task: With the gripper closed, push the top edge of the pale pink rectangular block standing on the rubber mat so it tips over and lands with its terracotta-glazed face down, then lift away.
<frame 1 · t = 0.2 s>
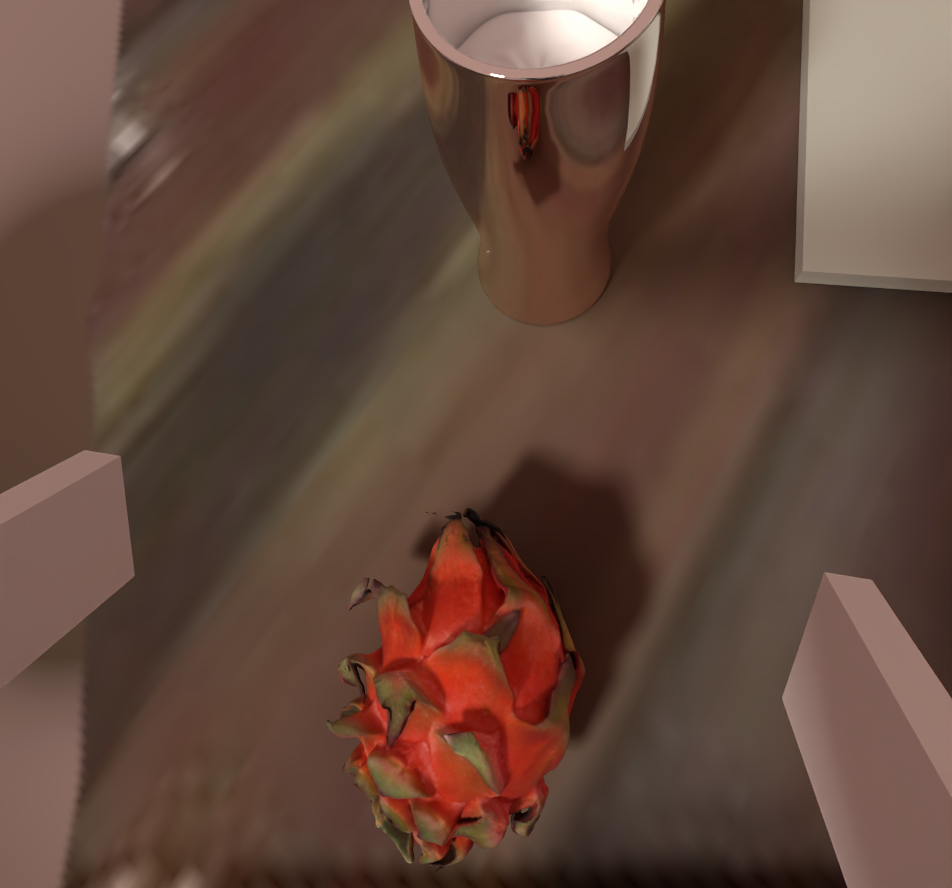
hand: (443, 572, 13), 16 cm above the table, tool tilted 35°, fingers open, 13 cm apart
beer glass: (544, 267, 31), on the table
dragon fruit: (470, 667, 28), on the table
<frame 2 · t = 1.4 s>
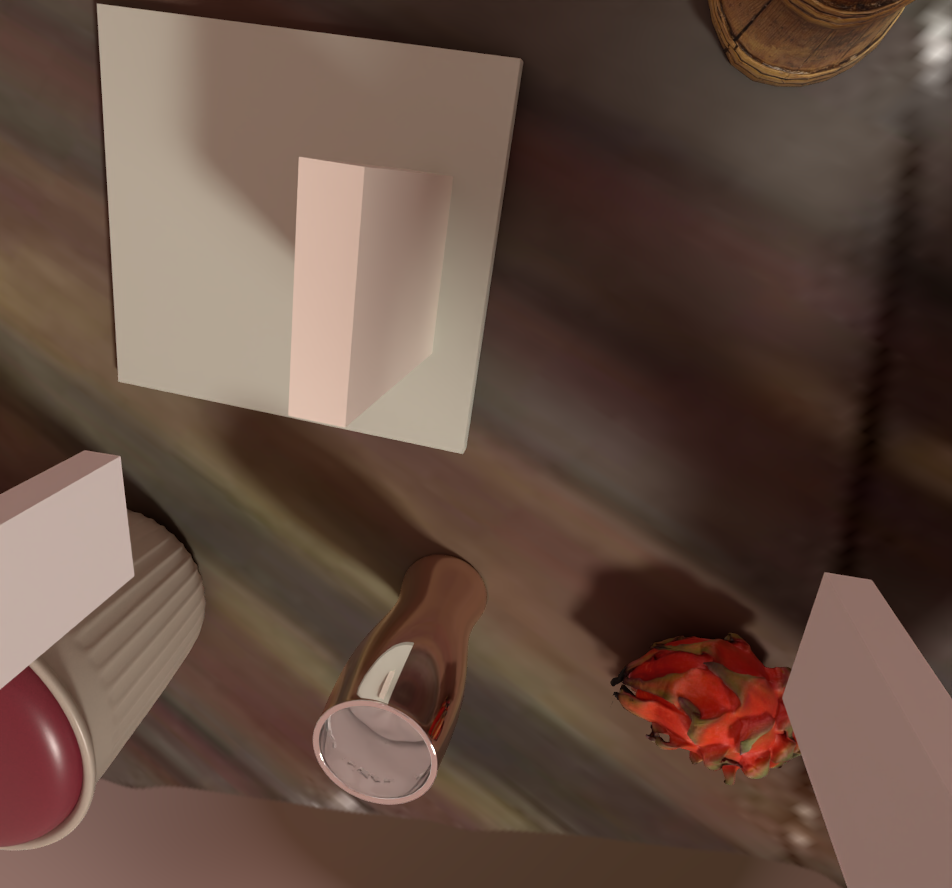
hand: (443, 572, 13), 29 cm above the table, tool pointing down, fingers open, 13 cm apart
mat: (298, 241, 41), on the table
canister: (140, 573, 53), on the table
pale pink rectangular block: (421, 265, 39), point 1 cm above the table, touching mat
beer glass: (445, 590, 48), on the table
dragon fruit: (700, 663, 46), on the table
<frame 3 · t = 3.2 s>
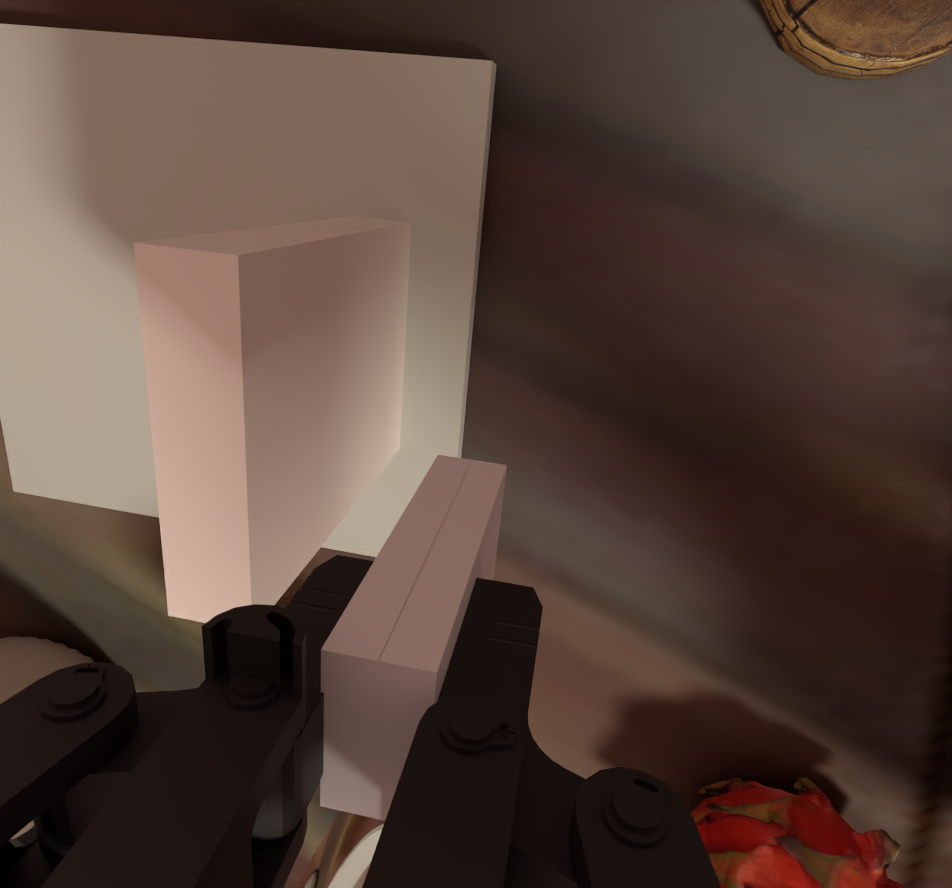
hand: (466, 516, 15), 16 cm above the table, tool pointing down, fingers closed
mat: (220, 312, 32), on the table
canister: (69, 706, 43), on the table
pale pink rectangular block: (377, 339, 30), point 1 cm above the table, touching mat
beer glass: (437, 724, 38), on the table
dragon fruit: (762, 807, 36), on the table
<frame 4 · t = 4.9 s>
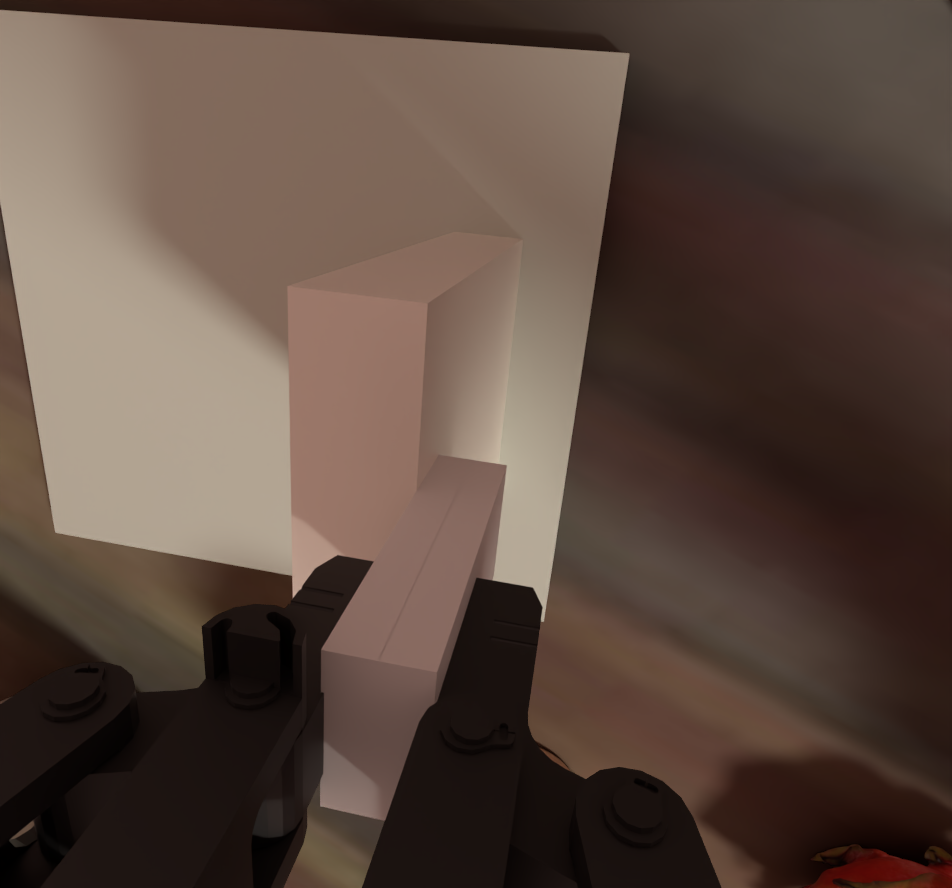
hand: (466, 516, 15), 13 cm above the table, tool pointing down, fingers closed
mat: (292, 337, 28), on the table
pale pink rectangular block: (476, 369, 26), point 1 cm above the table, touching gripper, mat
dragon fruit: (880, 874, 33), on the table
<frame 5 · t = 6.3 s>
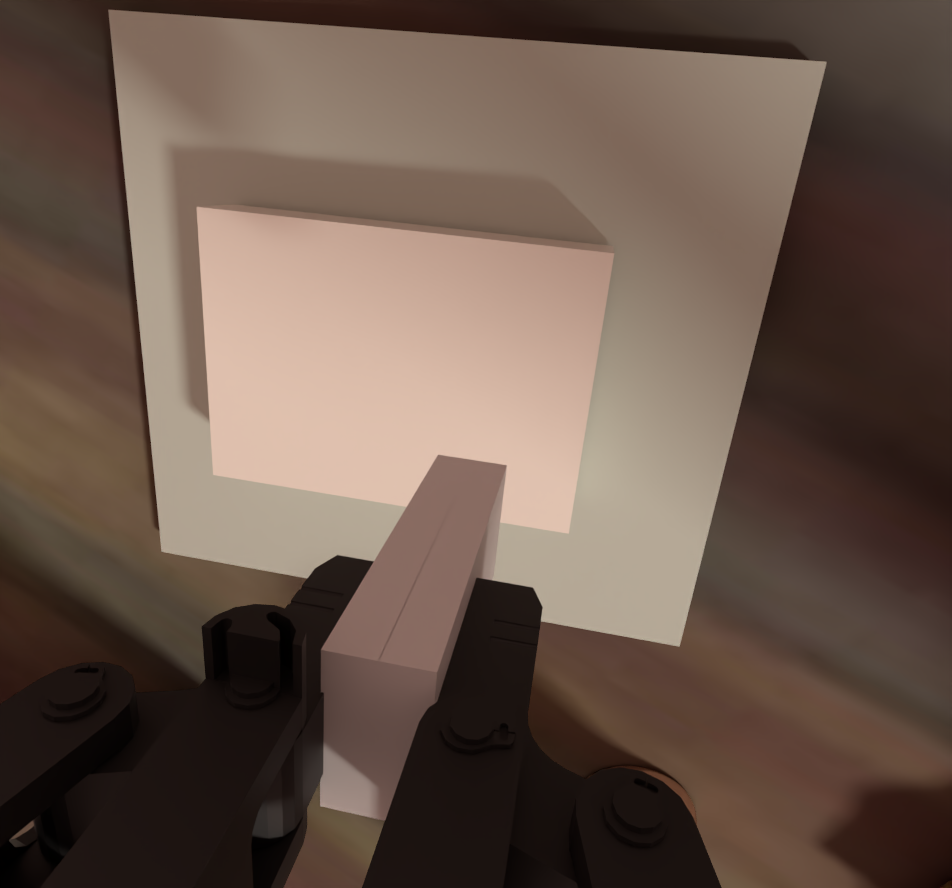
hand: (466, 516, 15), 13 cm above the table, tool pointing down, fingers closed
mat: (428, 353, 27), on the table
pale pink rectangular block: (590, 394, 24), point 2 cm above the table, tilted 90°, touching mat
beer glass: (632, 807, 34), on the table
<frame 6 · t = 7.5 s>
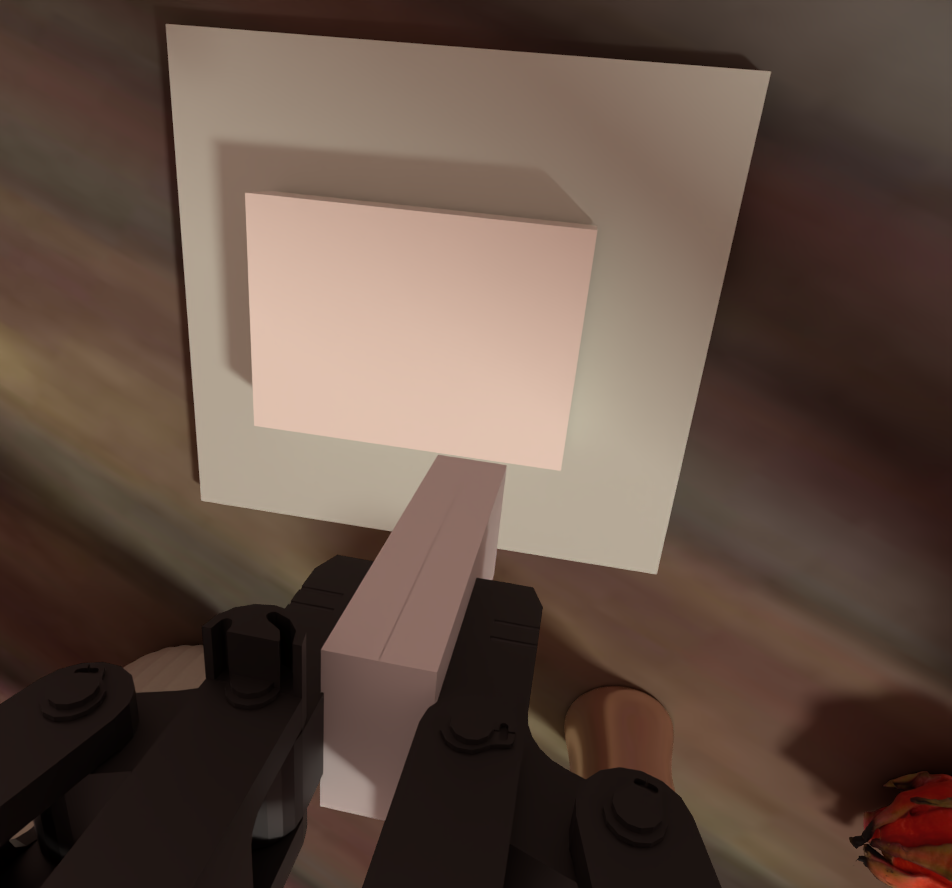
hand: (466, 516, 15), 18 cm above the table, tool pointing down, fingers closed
mat: (438, 320, 31), on the table
canister: (228, 713, 43), on the table
pale pink rectangular block: (578, 351, 28), point 2 cm above the table, tilted 90°, touching mat
beer glass: (617, 724, 39), on the table
dragon fruit: (944, 799, 37), on the table
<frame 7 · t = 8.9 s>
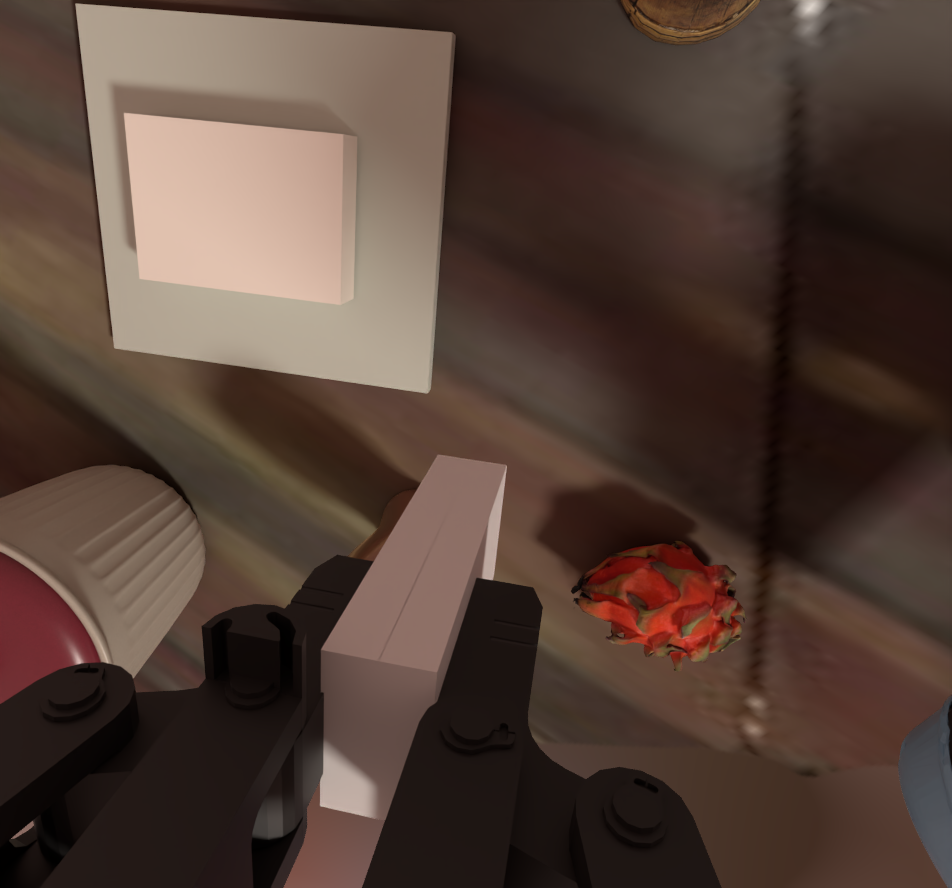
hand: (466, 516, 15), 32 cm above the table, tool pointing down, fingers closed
mat: (268, 209, 46), on the table
canister: (144, 527, 58), on the table
pale pink rectangular block: (348, 222, 43), point 2 cm above the table, tilted 90°, touching mat
beer glass: (421, 522, 53), on the table
dragon fruit: (653, 572, 51), on the table
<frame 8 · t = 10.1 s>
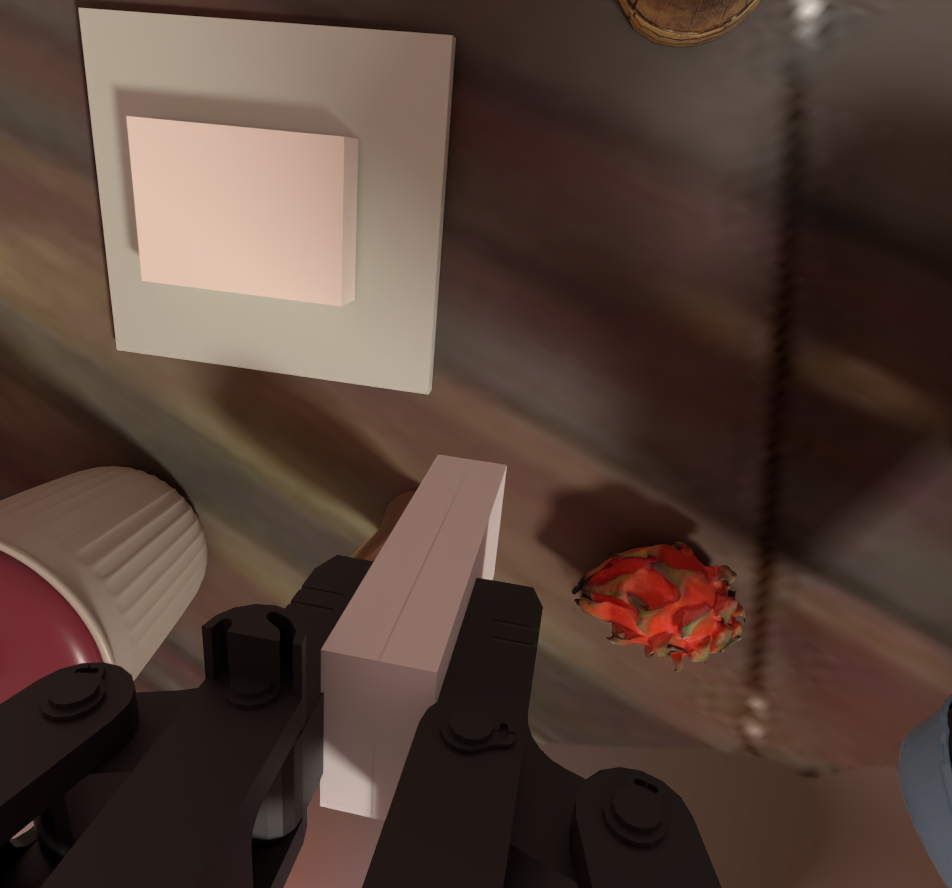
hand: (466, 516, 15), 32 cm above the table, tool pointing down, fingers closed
mat: (270, 211, 46), on the table
canister: (146, 528, 58), on the table
pale pink rectangular block: (349, 224, 43), point 2 cm above the table, tilted 90°, touching mat
beer glass: (422, 523, 53), on the table
dragon fruit: (653, 573, 51), on the table
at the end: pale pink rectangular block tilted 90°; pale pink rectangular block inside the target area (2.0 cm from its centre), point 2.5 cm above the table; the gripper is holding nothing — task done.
